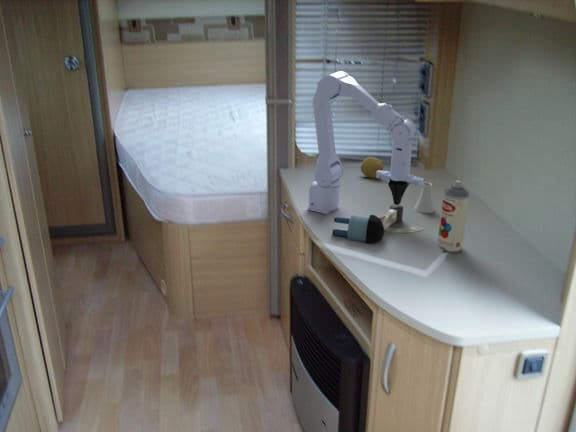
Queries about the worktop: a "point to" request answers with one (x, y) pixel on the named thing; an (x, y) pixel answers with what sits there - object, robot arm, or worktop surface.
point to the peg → (392, 216)
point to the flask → (425, 200)
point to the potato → (371, 167)
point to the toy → (361, 228)
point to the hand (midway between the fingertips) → (397, 203)
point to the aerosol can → (453, 218)
